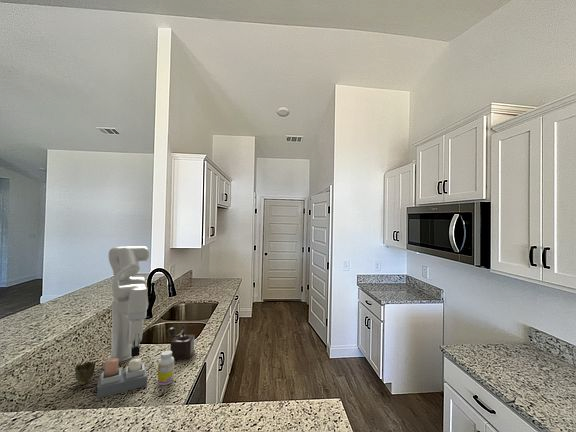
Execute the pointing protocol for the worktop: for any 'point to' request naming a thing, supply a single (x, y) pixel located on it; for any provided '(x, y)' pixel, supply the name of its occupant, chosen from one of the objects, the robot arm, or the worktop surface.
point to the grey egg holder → (121, 381)
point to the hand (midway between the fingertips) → (135, 355)
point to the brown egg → (111, 366)
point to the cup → (84, 372)
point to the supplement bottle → (166, 368)
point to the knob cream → (135, 365)
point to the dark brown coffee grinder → (181, 344)
